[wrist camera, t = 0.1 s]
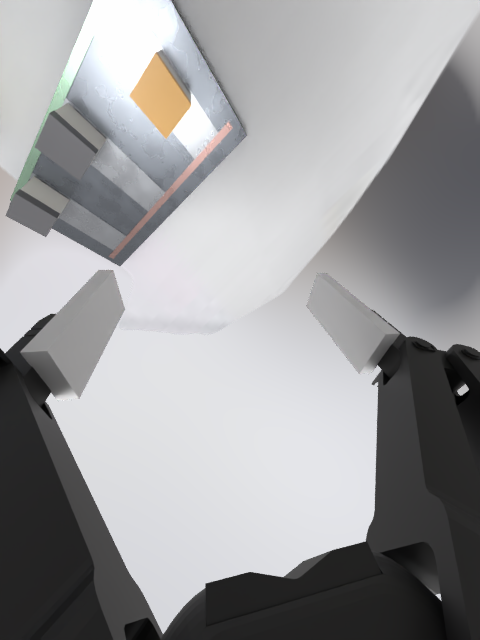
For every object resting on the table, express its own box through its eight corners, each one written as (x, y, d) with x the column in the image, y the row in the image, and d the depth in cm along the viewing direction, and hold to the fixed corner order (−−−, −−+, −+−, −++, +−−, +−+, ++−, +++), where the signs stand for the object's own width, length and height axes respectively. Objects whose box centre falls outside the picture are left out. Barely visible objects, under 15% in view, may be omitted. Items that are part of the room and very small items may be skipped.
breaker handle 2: (67, 101, 22) (49, 113, 20) (106, 139, 25) (95, 153, 22) (53, 132, 24) (34, 147, 21) (91, 164, 27) (79, 181, 24)
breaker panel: (131, -71, 17) (126, -78, 16) (244, 130, 28) (247, 135, 27) (15, 197, 31) (8, 204, 30) (121, 259, 42) (119, 267, 41)
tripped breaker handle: (160, 48, 20) (155, 52, 18) (191, 95, 23) (191, 105, 20) (137, 86, 22) (129, 95, 19) (168, 126, 25) (166, 139, 22)
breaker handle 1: (33, 175, 27) (15, 193, 24) (69, 200, 30) (57, 218, 27) (23, 196, 29) (5, 215, 26) (58, 217, 32) (45, 237, 29)
